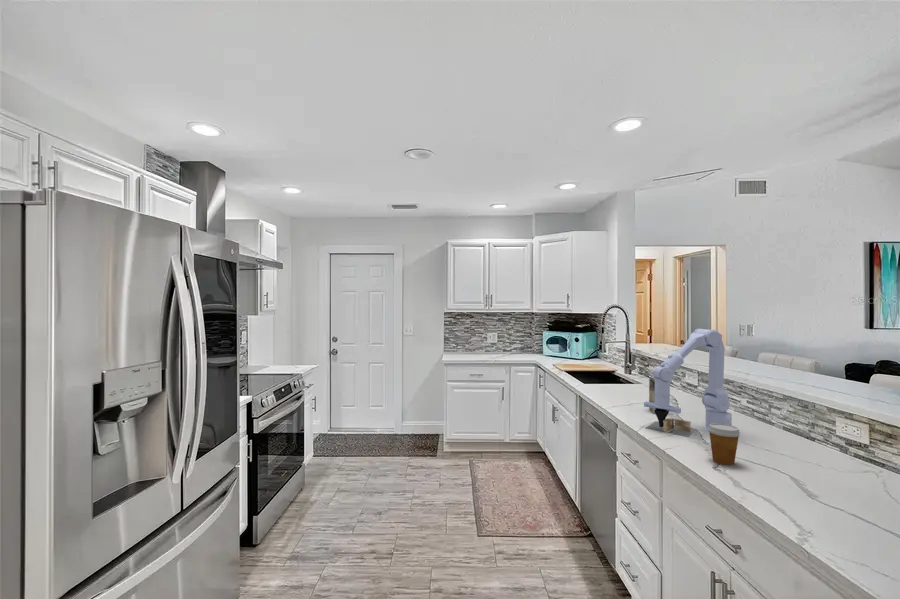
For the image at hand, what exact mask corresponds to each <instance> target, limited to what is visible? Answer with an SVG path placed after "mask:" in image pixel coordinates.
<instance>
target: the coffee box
mask: <svg viewBox="0 0 900 599" xmlns="http://www.w3.org/2000/svg"><path fill="white" fill-rule="evenodd" d="M648 382H649V384H648V385H649V386H648V387H649V388H648V389H649V391H648V394H649V395H648V402H651V403H655V379H654V378H649V380H648ZM648 410H649V411H650V412H651V413H652V414H653V415H656V414H655V412H654V410H655V408H650V407H648Z"/></svg>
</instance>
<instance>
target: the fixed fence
mask: <svg viewBox="0 0 900 599" xmlns="http://www.w3.org/2000/svg"><path fill="white" fill-rule="evenodd" d="M691 423H692V422H691V421H689V420H685V419H678V418H674V429H676V430H681V431H686V432H691V428H692V425H691Z"/></svg>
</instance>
